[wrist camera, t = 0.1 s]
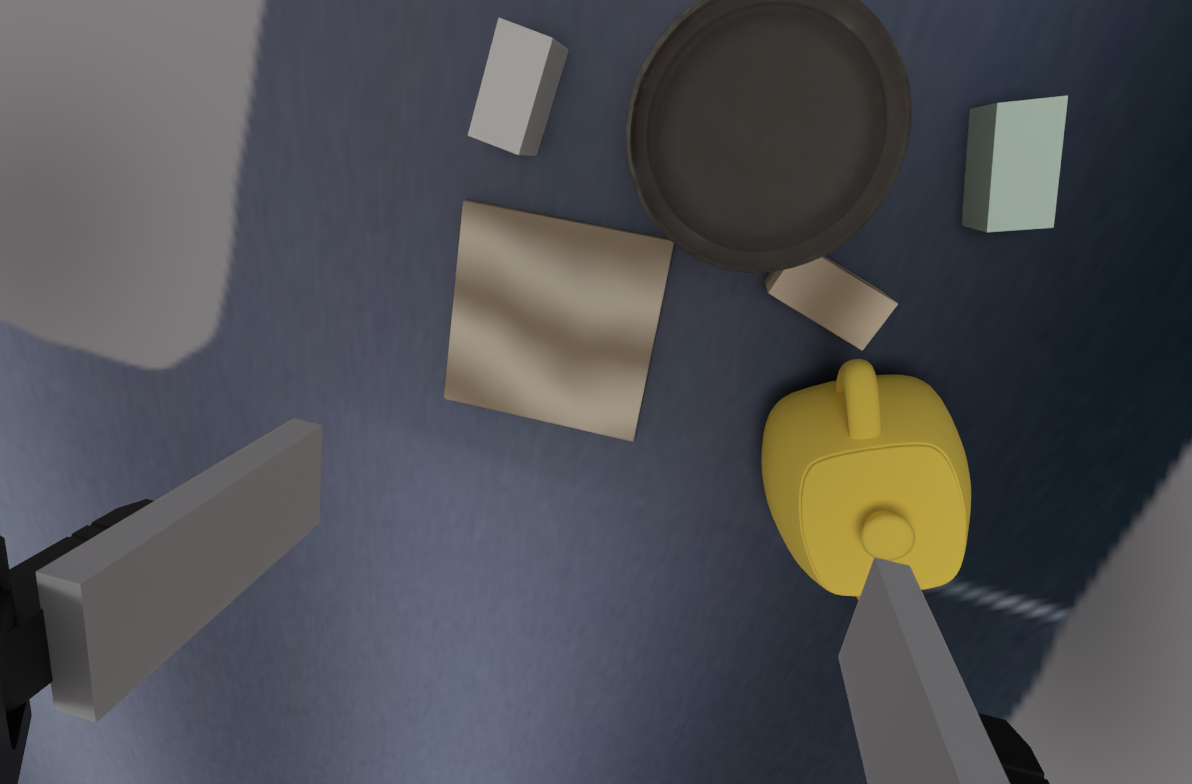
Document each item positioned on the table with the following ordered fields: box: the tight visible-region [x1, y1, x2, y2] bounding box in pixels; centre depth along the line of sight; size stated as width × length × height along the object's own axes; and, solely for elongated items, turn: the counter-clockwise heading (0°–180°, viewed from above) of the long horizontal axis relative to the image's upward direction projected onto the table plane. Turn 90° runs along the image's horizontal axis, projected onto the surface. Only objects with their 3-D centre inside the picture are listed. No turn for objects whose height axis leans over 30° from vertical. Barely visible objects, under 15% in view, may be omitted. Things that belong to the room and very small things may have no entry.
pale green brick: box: [962, 96, 1068, 232], centre depth 35 cm, size 6×3×4 cm, turn 6°
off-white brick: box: [468, 18, 569, 156], centre depth 38 cm, size 6×3×4 cm, turn 161°
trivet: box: [444, 200, 674, 442], centre depth 43 cm, size 13×13×1 cm
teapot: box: [761, 359, 971, 601], centre depth 38 cm, size 18×11×11 cm, turn 14°
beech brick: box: [764, 256, 898, 351], centre depth 38 cm, size 6×3×4 cm, turn 61°
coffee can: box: [625, 0, 911, 273], centre depth 32 cm, size 10×10×14 cm
